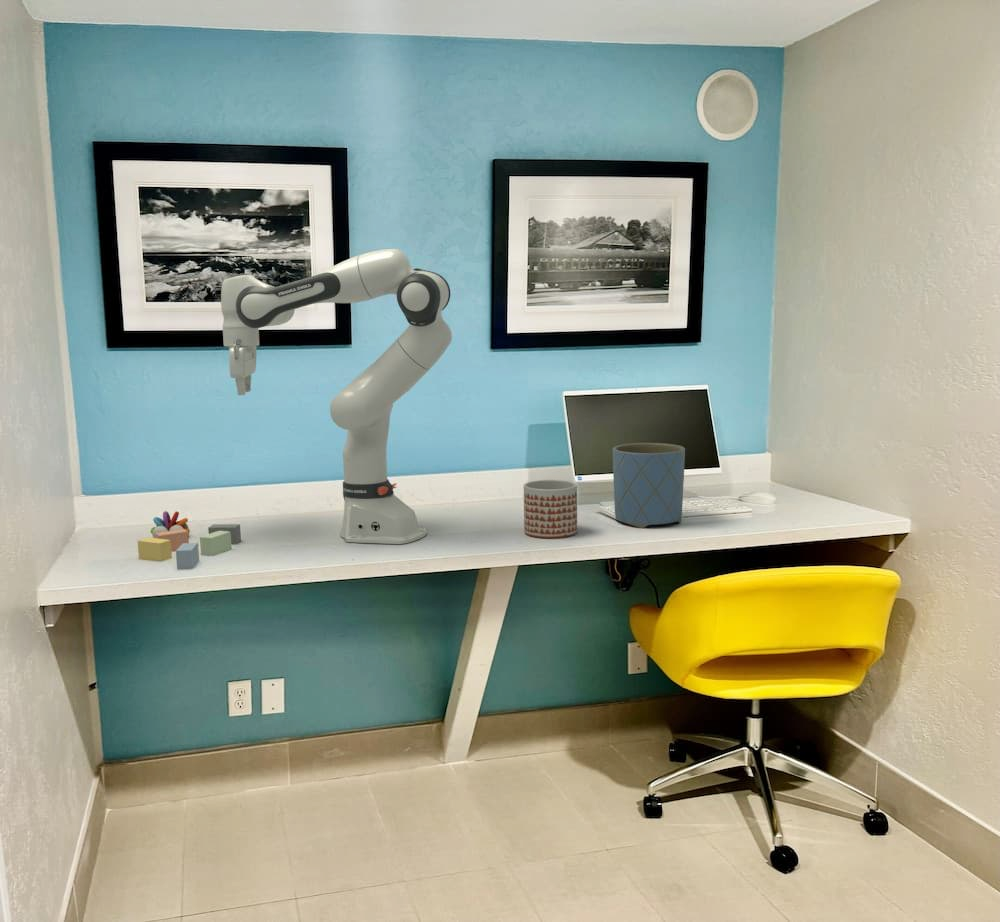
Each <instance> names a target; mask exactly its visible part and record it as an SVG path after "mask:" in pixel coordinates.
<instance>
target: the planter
mask: <svg viewBox="0 0 1000 922" xmlns="http://www.w3.org/2000/svg"><path fill="white" fill-rule="evenodd" d="M685 458H686V448H685V447H684V446H682V445H679V444H671V443H662V442H634V443H633V442H632V443H624V444H618V445H615V446H614V447H612V472H613V497H614V498H613V499H614V517H615V519H616V520H617V521H618V522H620V523H624V524H627V525H630V526H633V527H636V528H640V529H644V528H646V527H647V526H652V525H653V526H654V525H668V524H672V523H676V522H677V524H681V521H682V516H683V500H684V485H685V484H684V481H685V463H686V461H685V460H686V459H685Z"/></svg>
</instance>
